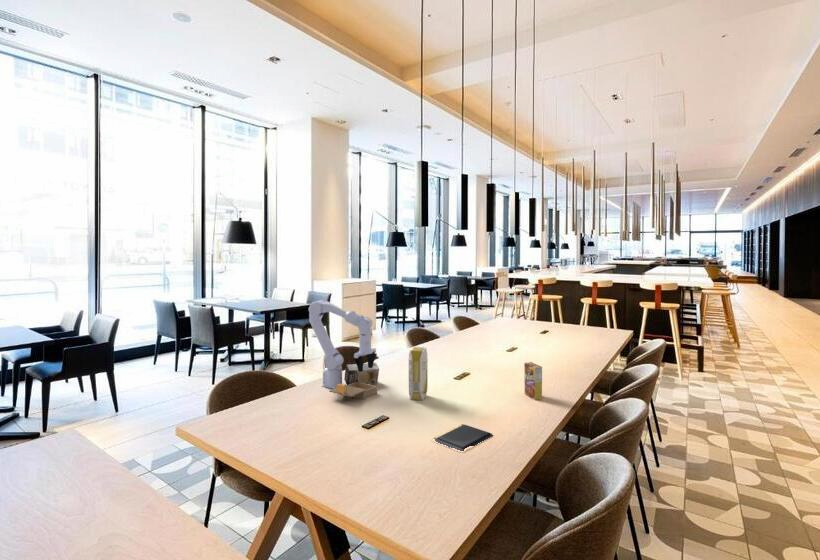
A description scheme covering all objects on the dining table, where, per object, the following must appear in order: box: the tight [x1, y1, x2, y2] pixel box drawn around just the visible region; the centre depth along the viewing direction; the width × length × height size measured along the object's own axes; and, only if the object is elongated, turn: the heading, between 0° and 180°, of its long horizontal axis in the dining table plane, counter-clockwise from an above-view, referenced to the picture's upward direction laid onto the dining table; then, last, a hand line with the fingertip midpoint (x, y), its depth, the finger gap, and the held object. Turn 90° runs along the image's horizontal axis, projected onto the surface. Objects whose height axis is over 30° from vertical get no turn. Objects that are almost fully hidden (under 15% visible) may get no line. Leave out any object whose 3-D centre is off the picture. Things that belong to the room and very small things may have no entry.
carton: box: [348, 382, 378, 400], centre depth 210 cm, size 13×10×4 cm
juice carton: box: [408, 345, 429, 401], centre depth 204 cm, size 9×8×24 cm
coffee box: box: [343, 362, 380, 385], centre depth 224 cm, size 9×6×16 cm
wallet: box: [433, 423, 494, 451], centre depth 161 cm, size 20×2×15 cm
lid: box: [328, 383, 366, 398], centre depth 203 cm, size 13×10×4 cm
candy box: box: [523, 361, 543, 401], centre depth 205 cm, size 9×4×15 cm, turn 17°
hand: (365, 369), depth 218 cm, fingers open, 7 cm apart
